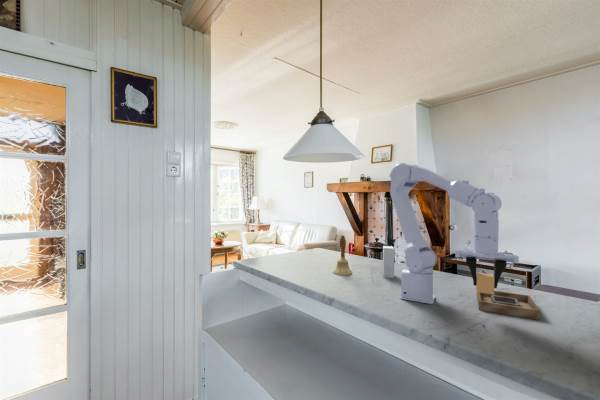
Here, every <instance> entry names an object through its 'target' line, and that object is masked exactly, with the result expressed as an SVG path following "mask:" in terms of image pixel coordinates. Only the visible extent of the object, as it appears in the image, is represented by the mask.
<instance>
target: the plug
mask: <svg viewBox="0 0 600 400" xmlns="http://www.w3.org/2000/svg"><path fill="white" fill-rule="evenodd" d="M476 279H477V286H475V290H476V293H477V292H480V293H487V294H494V291H495V288H494V273H486V272H478V271H476Z"/></svg>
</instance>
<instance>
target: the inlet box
mask: <svg viewBox="0 0 600 400" xmlns="http://www.w3.org/2000/svg"><path fill="white" fill-rule="evenodd" d="M476 299H477V307H478V310H479V311H480V310H481V311H486V312H491V313H496V314H503V315H509V316H515V317H520V318H526V319H533V320H538V321H541V310H540V308H539V307H538V306H537V304H536V303H535V301H534V300H533V298H532V297H531V295H529V294H528V295H527V294H524V293H523V294H521V293H516V292H515V293H513V292H508V291H499V290H494V294H487V293H480V292H476Z"/></svg>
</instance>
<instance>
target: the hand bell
mask: <svg viewBox="0 0 600 400" xmlns="http://www.w3.org/2000/svg"><path fill="white" fill-rule="evenodd" d="M339 247H340V258H339V259H337V263H336V267H335V268H334V269H333V271H332V273H333V274H335V275H338V276H351V275H352V274H353V271H352V269H350V267H349V260H348V259H346V255H345V253H346V252H345V251H346V247H347V241H346V236H345V235H341V236H340V239H339Z"/></svg>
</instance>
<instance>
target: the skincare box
mask: <svg viewBox="0 0 600 400" xmlns="http://www.w3.org/2000/svg"><path fill="white" fill-rule="evenodd" d="M395 250H396V249H395V248H394V246H392V245H391V246H388V245H383V246H382V269H381V270H382V277H383V278H387V279H395Z"/></svg>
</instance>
